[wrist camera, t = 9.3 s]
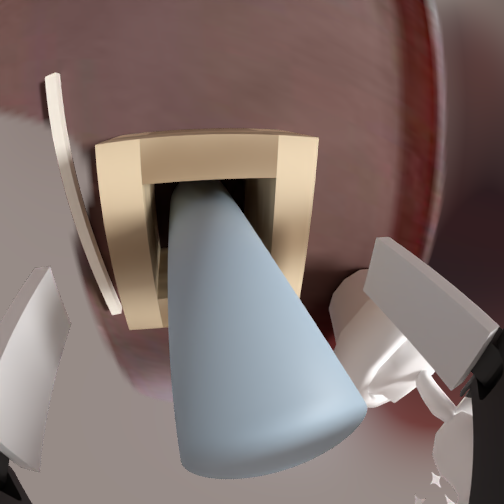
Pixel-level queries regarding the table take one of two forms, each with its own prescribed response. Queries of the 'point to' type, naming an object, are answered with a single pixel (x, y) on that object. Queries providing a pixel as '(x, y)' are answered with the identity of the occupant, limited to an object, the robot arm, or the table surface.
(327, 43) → the table surface
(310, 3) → the table surface
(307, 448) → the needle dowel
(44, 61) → the table surface
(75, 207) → the white thin rod
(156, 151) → the wooden box
